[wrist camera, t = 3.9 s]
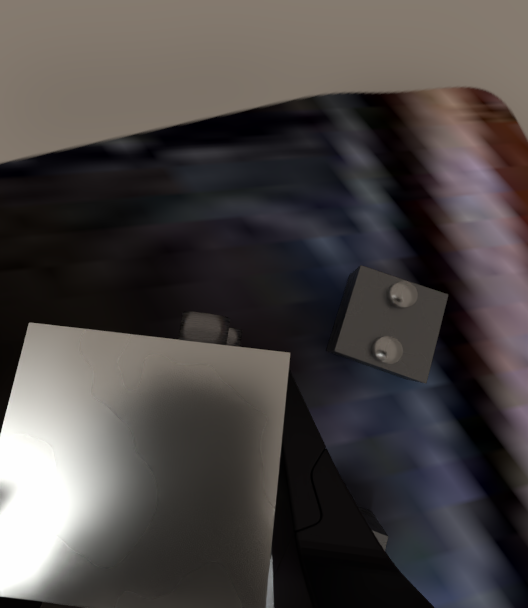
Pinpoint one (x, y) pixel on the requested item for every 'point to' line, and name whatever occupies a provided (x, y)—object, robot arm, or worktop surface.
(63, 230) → the worktop surface
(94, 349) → the pale grey rectangular block
